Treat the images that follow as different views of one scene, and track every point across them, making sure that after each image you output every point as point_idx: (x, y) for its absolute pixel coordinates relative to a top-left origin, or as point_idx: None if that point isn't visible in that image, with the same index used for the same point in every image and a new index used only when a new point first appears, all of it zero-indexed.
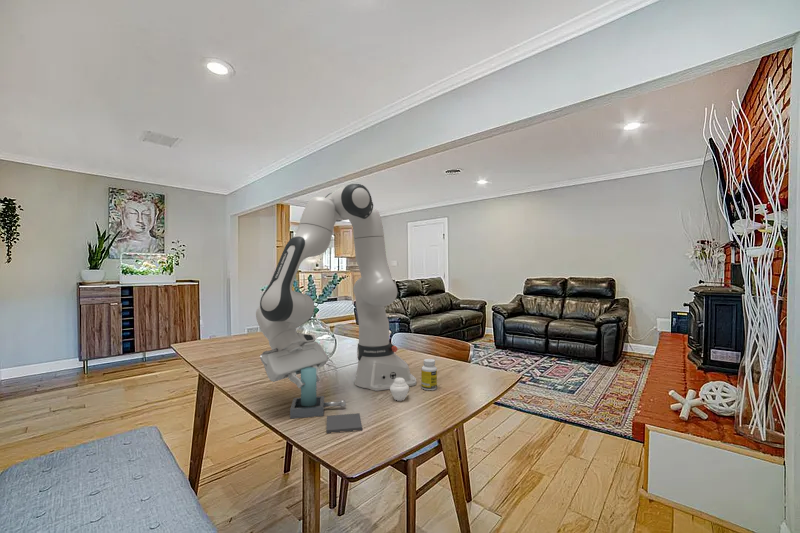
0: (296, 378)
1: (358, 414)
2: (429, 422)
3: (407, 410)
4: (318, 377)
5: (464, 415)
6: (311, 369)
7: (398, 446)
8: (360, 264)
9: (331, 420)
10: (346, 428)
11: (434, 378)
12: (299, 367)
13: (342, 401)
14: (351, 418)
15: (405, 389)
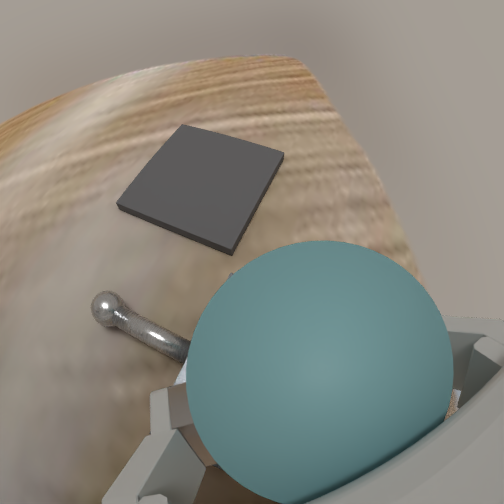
0: (457, 318)
1: (125, 195)
2: (53, 115)
3: (16, 179)
4: (170, 392)
5: (4, 122)
6: (293, 329)
7: (174, 71)
8: None
9: (236, 201)
10: (223, 135)
11: None
12: (489, 399)
13: (109, 294)
14: (166, 179)
15: None
